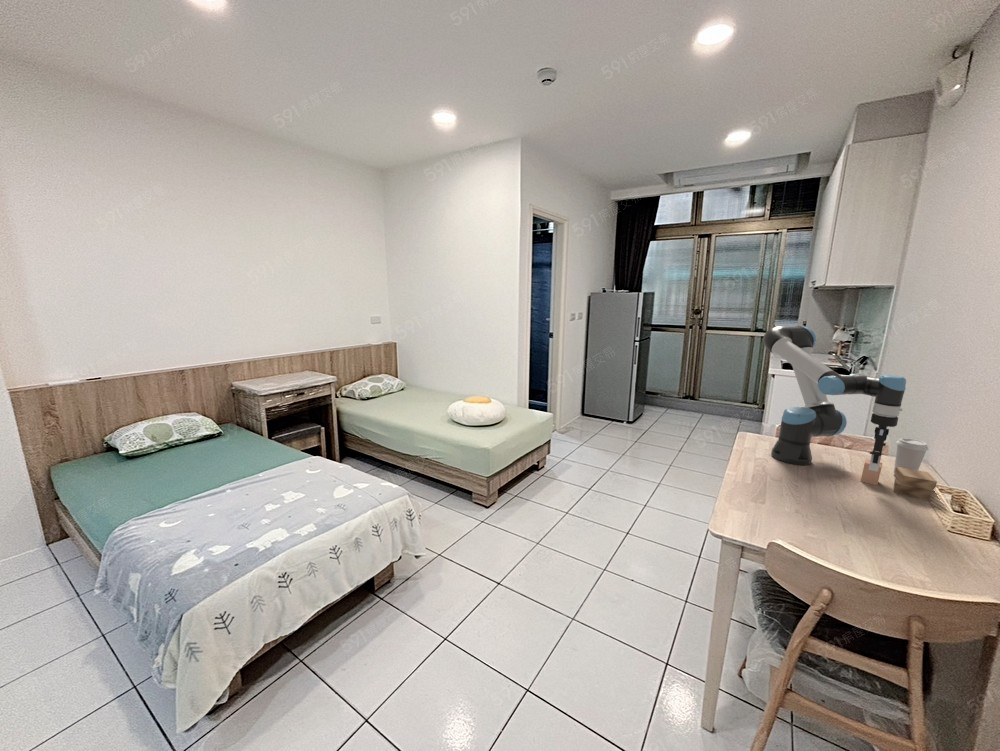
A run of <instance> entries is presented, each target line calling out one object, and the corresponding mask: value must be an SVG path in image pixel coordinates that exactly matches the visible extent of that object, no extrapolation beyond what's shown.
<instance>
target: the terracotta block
mask: <svg viewBox="0 0 1000 751" xmlns="http://www.w3.org/2000/svg"><path fill="white" fill-rule="evenodd" d="M870 460H871V459H867V458H866V459H865V461H864V464H863V468H862V473H861V476H860V477H861V478H860V482H863V483H867V484H870V485H874V486H878V483H879V479H880V475H881V470H882V467H883V462H880V464H879V469H878V472H877V471H873V470H868V469H869V465H870Z"/></svg>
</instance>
